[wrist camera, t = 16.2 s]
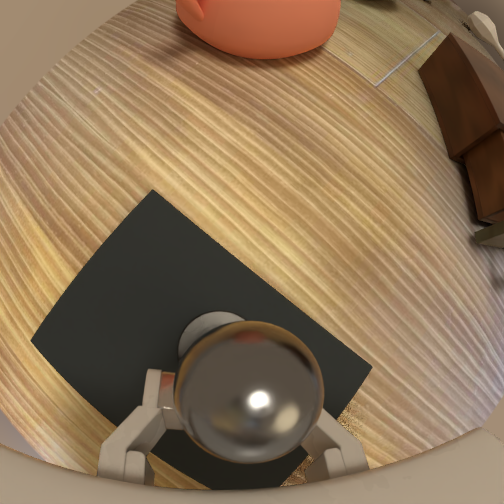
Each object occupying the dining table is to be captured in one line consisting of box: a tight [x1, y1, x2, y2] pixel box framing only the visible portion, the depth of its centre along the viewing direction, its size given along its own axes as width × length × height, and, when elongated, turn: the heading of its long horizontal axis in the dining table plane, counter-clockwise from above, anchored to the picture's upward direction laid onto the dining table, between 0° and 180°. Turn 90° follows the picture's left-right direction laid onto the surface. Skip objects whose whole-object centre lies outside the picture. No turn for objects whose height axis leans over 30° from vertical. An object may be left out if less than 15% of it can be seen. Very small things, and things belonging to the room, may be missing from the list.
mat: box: [31, 190, 372, 490], centre depth 18 cm, size 20×14×1 cm
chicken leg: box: [467, 11, 504, 61], centre depth 41 cm, size 8×18×8 cm, turn 52°
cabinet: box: [418, 32, 504, 165], centre depth 25 cm, size 15×15×9 cm
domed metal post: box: [172, 310, 324, 464], centre depth 10 cm, size 4×4×12 cm
